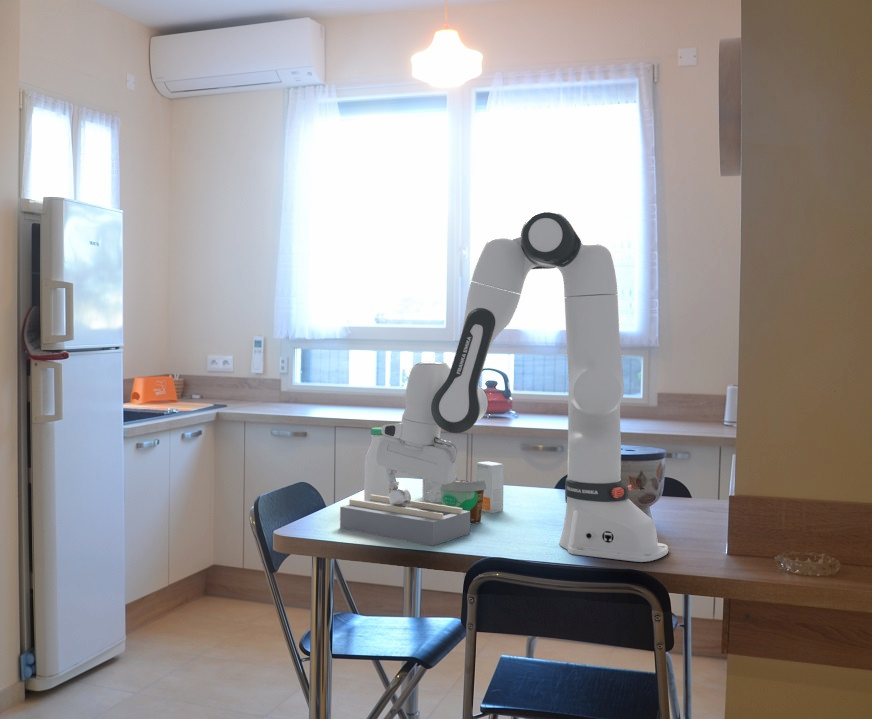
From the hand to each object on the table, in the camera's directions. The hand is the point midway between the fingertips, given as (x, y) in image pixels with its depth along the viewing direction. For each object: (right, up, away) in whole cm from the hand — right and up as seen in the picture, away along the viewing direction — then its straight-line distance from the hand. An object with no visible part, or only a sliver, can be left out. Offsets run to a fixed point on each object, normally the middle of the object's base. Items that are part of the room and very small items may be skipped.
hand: (411, 495), depth 192 cm
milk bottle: (-9, -8, +32) cm, 34 cm away
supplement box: (+6, -8, +39) cm, 40 cm away
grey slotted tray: (-2, -9, +3) cm, 9 cm away
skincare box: (+19, -8, +26) cm, 34 cm away
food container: (+10, -9, +13) cm, 19 cm away
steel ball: (-3, -1, +3) cm, 4 cm away
